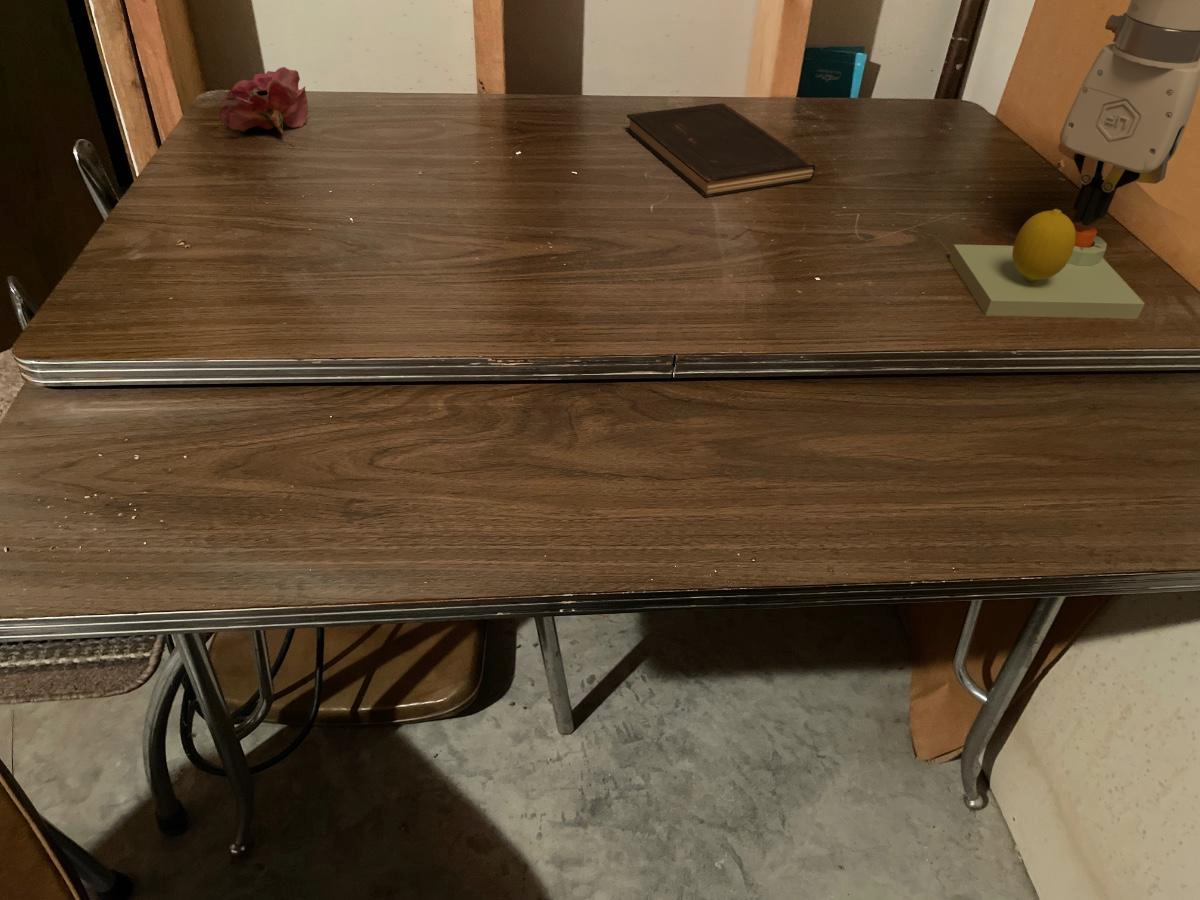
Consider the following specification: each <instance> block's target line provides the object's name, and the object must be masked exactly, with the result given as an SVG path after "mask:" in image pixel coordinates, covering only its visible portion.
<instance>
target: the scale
mask: <svg viewBox="0 0 1200 900" xmlns="http://www.w3.org/2000/svg"><path fill="white" fill-rule="evenodd" d="M1013 246H1014V245H1000V244H999V245H997V244H996V245H993V244H992V245H991V244H953V245H952V249H951V251H950V254H949V258H948V260H949V261H950V263H951V264H952V266H953V268H954V269H955V271H956V272H957V274H958V275H959V277H960V279H961V280H962V281H963V283H964V285H965V286H966V288H967V289H968V291H969V292H970V294H971V295H972V297H973V298H974V300H975V301H976V303H977V305H978V306H979V308H980V309H981V311H982V312H983V314H984V315H985V316H990V317H992V316H993V317H994V316H995V317H1035V318H1036V317H1037V318H1038V317H1039V318H1040V317H1041V318H1042V317H1043V318H1082V319H1083V318H1084V319H1086V318H1087V319H1127V320H1128V319H1131V320H1133V319H1134V320H1137V319H1139V316H1140V314H1141V312H1142V310H1143V309H1144V306H1145V302H1144V301H1143V300H1142V299H1141V298H1140V297H1139V295H1138V294H1137V293H1136V292H1135V291H1134V290H1133V289H1132V288H1131V286H1129V285H1128V283H1127V282H1126V281H1125V280H1124V279H1123V278H1122V276H1120V275H1119V274H1118V273H1117V272H1116V270H1115V269H1114V268H1113V267H1112V266H1111V265H1110V264H1109V263H1108V262H1107V261H1106V259H1105V258H1104V255H1105V252H1106V251H1107V246H1108V244H1107V242H1106V241H1105V240H1104V239H1103V238H1102V237H1100V236H1098V235H1096V236H1095V238H1094V241H1093V243H1092V245H1091V247H1089V248H1082V247H1077V246H1074V250H1073V252H1072V255H1071V257H1070V259H1069V261H1068V262H1067V264H1066V265H1065V267H1064V268H1063V269H1062V270H1061V271H1060V272H1058V273H1057V274H1055V275H1054V276H1052V277H1049V278H1046V279H1038V280H1036V281H1033V282H1030V281H1028V280H1027V279H1026V277H1025V276H1024V275H1023V274H1021V273H1020V272H1019V271H1018V270H1017V268H1016V267H1015V264H1014V261H1013V256H1012V253H1013Z"/></svg>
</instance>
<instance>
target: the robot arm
mask: <svg viewBox="0 0 1200 900" xmlns="http://www.w3.org/2000/svg"><path fill="white" fill-rule="evenodd" d="M1104 28H1105V30H1108V31H1111V33H1113V34H1114V37H1113V39H1112V42H1113V43H1109V44H1106V45H1103V47H1102V48H1101V50H1100V52H1098V54H1097V56H1096V58H1095V59H1094V62H1093V63H1092V65H1091V67H1090V69H1089V71H1088V73H1087V74H1086V76H1085V78H1084V79H1083V82H1082V84H1081V86H1080V88H1079V90H1078V92H1077V95H1076V97H1075V98H1074V100H1073V103H1072V105H1071V107H1070V109H1069V111H1068V113H1067V116H1066V119H1065V121H1064V123H1063V126H1062V128H1061V131H1060V134H1059V142H1060V143H1059V144H1058V147H1057V151H1058V152H1059V153H1060V154H1062V155H1064V156H1065V157H1067V158H1068V159H1070V160H1072V161H1073V162H1074V163H1075V167H1076V168H1077V171H1078V172H1079V183H1081V186H1080V188H1079V192H1078V194H1077V196H1076V198H1075V201H1074V204H1073V207H1072V209H1073V210H1075V212H1074V215H1073V217H1072V222H1074V223H1082V224H1083V225H1085V226H1088V225H1090V226H1091V224H1094V223H1095V222H1097V221H1098V220H1101V219H1103V218H1104V217H1105V216H1106V214H1107V213H1108V211H1109V209H1110V207H1111V204H1112V201H1113V199H1114V197H1115V194H1116V192H1117V190H1118V189H1119V188H1121V187H1124V186H1126V185H1129V184H1131V183H1133V182H1135V183H1140V184H1142V183H1143V184H1151V185H1155V184H1159V183H1160V182H1162V181H1164V179H1165V178H1166V174H1167V168H1168V163H1169V162H1170V161H1171V160H1172V158H1173V157H1174V155H1175V153H1176V151H1177V149H1178V147H1179V145H1180V143H1181V140H1182V137H1183V135H1184V133H1185V130H1186V128H1187V125H1188V122H1189V119H1190V117H1191V114H1192V111H1193V108H1194V105H1195V101H1196V98H1197V95H1198V91H1199V88H1200V0H1130V2H1129V5H1128V7H1127V10H1126V12H1124V13H1123V14H1122V15H1121V14H1120V15H1114V14H1111V15H1110V16H1109V17H1108V18H1107V20H1106V23H1105V27H1104ZM1107 164H1108V165H1111V166H1112V168H1111V169H1110V171H1109V172H1108V174H1107V176H1106V177H1105V179H1103V178H1104V176H1103V175H1104V172H1105V168H1106V165H1107Z"/></svg>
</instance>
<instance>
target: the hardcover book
mask: <svg viewBox="0 0 1200 900" xmlns="http://www.w3.org/2000/svg"><path fill="white" fill-rule="evenodd" d="M626 117H627V118H628V119H629V127H628V128H626V129H625V131H626V132H628V134H630V135H631V136H632V137H633V138H634V139H635V140H636V141H638V142H639V143H640V144H641V145H643V146H644V147H645V148H646V149H647V150H648V151H650V152H651V153H652V154H653V155H654V156H655V157H657V158H658V159H659V160H660V161H661V162H662V163H664V164H665V165H666V166H667V167H669V168H670V169H671V170H672V171H673V172H674V173H676V175H678V176H679V177H680V178H682V179H683V180H684V181H685V182H686V183H687V184H688V185H689V186H691V187H692V188H693V189H694V190H695V191H697V192H698V193H699V194H700V195H701V196H702V197H704V198H713V197H718V196H724V195H730V194H737V193H742V192H743V193H744V192H748V191H754V190H762V189H768V188H775V187H780V186H785V185H786V186H787V185H792V184H793V185H794V184H798V183H805V182H810V181H811V180H812V179H813V178H814V176H815V172H816V165H815V164H814V163H812V162H811V161H809V160H808V159H807V158H805V157H804V156H802V155H801V154H799V153H797V151H795V150H793V149H792V148H791V147H789V146H788V145H786V144H784V143H783V142H782V141H780V140H779V139H777V138H776V137H774V136H773V135H771V134H770V133H769V132H767V131H766V130H764V129H763V128H761V127H760V126H758V125H757V124H755V123H754V122H752V121H751V120H749V119H748V118H746V117H745V116H744V115H742V114H740V113H739V112H737V111H736V110H735V109H733V108H732V107H731V106H729V105H727V104H726V103H724V102H718V103H711V104H704V105H695V106H686V107H679V108H670V109H661V110H653V111H645V112H638V113H637V112H636V113H630V114H627V115H626Z"/></svg>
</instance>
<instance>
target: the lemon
mask: <svg viewBox="0 0 1200 900" xmlns="http://www.w3.org/2000/svg"><path fill="white" fill-rule="evenodd" d="M1073 223H1074V222H1073V221H1072V220H1071V219H1070V218H1069V216H1067V215H1066V214H1064V213H1063V212H1062V210H1060V209H1059V208H1054V209H1052V210H1044V211H1041V212H1039V213H1035V214H1034V215H1033V216H1031V217H1030V218H1029V219H1027V220H1026V221H1025V222H1024V224H1023V225H1022V227H1020V229H1019V231H1018V233H1017V235H1016V237H1015V240H1014V242H1013V245H1012V246H1013V253H1012V256H1013V261H1014V264H1015V267H1016V268H1017V270H1018V271H1019V272H1020V273H1021V274H1023V275H1024V276H1025V277H1026V279H1027V280H1028V281H1030V282H1033V281H1036V280H1038V279H1046V278H1049V277H1052V276H1054V275H1055V274H1057V273H1058V272H1060V271H1061V270H1062V269H1063V268H1064V267H1065V265H1066V264H1067V262H1068V261H1069V259H1070V257H1071V255H1072V252H1073V250H1074V245H1075V238H1076V234H1075V227H1074V225H1073Z"/></svg>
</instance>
